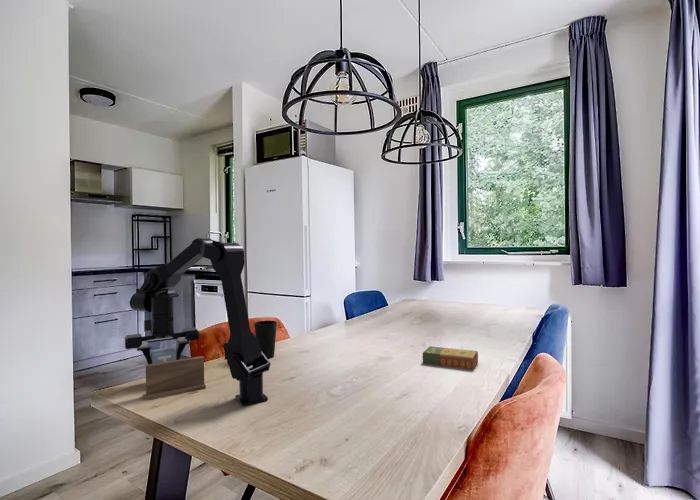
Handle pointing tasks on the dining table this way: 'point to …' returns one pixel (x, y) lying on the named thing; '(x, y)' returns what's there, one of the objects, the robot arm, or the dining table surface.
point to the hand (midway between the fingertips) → (163, 367)
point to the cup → (266, 337)
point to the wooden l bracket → (174, 377)
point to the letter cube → (163, 355)
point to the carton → (451, 357)
